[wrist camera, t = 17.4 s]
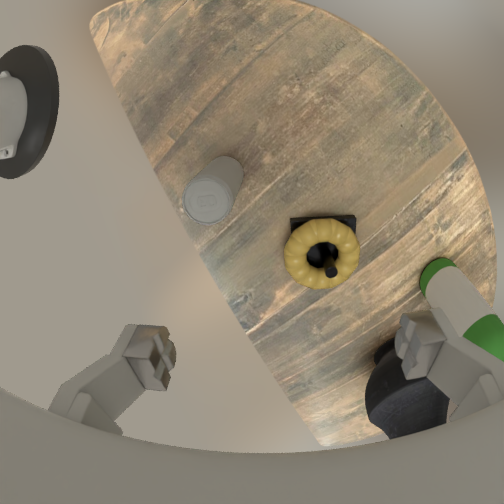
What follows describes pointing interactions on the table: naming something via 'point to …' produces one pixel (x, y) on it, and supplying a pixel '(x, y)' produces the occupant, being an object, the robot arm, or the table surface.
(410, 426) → the pitcher
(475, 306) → the bottle
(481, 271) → the table surface
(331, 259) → the post
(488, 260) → the table surface
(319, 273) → the ring doughnut
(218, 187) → the beverage can
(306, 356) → the table surface
